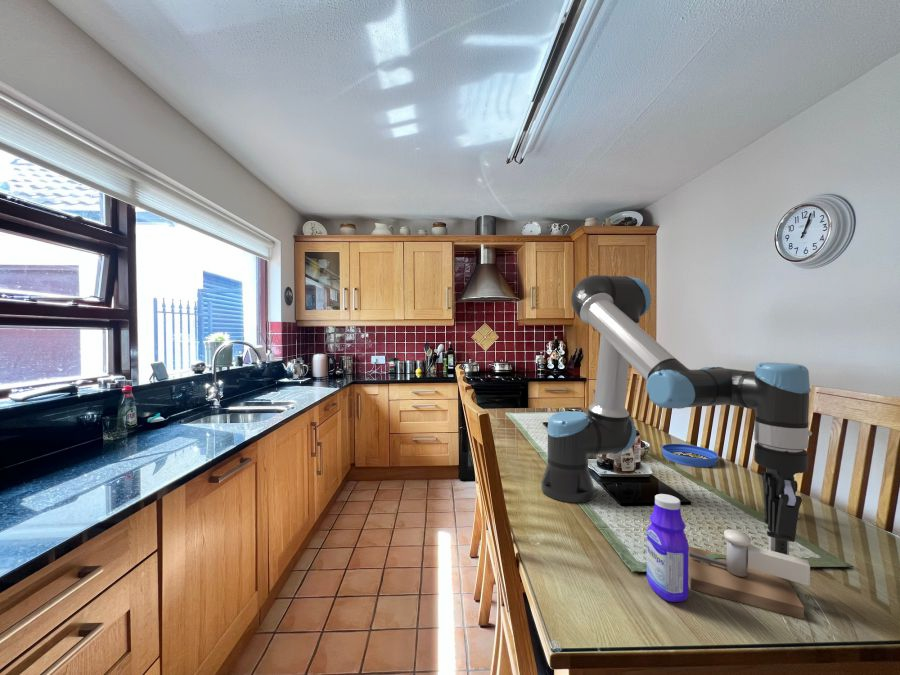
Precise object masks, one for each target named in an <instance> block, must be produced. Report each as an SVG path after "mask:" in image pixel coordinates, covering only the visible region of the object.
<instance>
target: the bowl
mask: <svg viewBox="0 0 900 675" xmlns="http://www.w3.org/2000/svg"><path fill="white" fill-rule="evenodd" d="M661 451H662V453H663V454H662V455H663V457H664V458H665V459H666V460H668V461H670V462H672V463H676V464H679V465H682V466H687V467H688V466H689V467H696V468H711V466H712V467H715V466H716V465H717V462H718V460H719V454H718V453H717V452H716V451H714V450H712V449H709V448H706V447H702V446H697V445H691V444H683V443H668V444H664V445H662V446H661ZM672 452H682V453H683V454H687V453H692V454H691V455H693V454H696V456H698V455H700V457H701V456H703V458H704V457H706V458H708V459H703V458H696V457H691V456H689V455H683V454H680V455H678V454H674V453H672ZM714 465H715V466H714Z"/></svg>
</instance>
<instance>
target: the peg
mask: <svg viewBox="0 0 900 675" xmlns="http://www.w3.org/2000/svg"><path fill="white" fill-rule="evenodd" d="M723 537H724V539H725V541H726V554H725V555H726V562H722V561H719V560H716V559H712V558H709V557H705V556H702V555H698V554H695V553H691V552H690V553H689V557H693V558H696V559H699V560H703V561H706V562H709V563H713V564H716V565H720V566H723V567H726V569H727V570H728V571H729V572H730V573H732V574H734V575H737V576H741V577H745V576H747V566H748V568H750V569H753V570H757V571H760V572H764V573H767V574H770V575H774V576H777V577H781V578H784V579H787V580H788V581H791V582H795V583H798V584H802V585H805V586H809V587H810V585H811V582H810V580H811V578H810V577H811V565H810V564H809V560H808V559H805V558H801V557H797V556H793V555H790V554H789V555H786V554H782V553H778V552H774V551H770V550H769V549H765V548H763V547H762V548H761V547H758V546H755V545H754V546H753V545H752V544H751V540H752V538H751V536H750V535H748V534H746V533H745V532H742V531H740V530H735V529H725V530H724V532H723Z"/></svg>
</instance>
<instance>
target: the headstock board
mask: <svg viewBox="0 0 900 675" xmlns="http://www.w3.org/2000/svg"><path fill="white" fill-rule="evenodd" d="M690 552H691V553H695V554H698V555H702V556H705V557H709V558H712V559H716V560H719V561H722V562H726V554H723V553H718V552H714V551H709V550H706V549H700V548H697V547H692V546H689V553H690ZM688 572H689V574H688V577H689V582H688V584H689V587H690V590H694V591H697V592H700V593H705V594H708V595H712V596H716V597H718V598H719V597H720V598H723V599H727V600H731V601H733V602H734V601H735V602H738V603H740V604H741V603H742V604H746V605H748V606H752V607H756V608H759V609H764V610H767V611H771V612H774V613H775V612H776V613H778V614H782V615H786V616H788V617H789V616H790V617H793V618H798V619H801V620H805V619H804V618H805V608H804V607H805V606H804V605H803V604H802V601H801V600H800V598H799V597H798V596H797V594H796V592H795V590H794V588H793V587H792V585H791V584H790V582H789V580H788V579H784V578H781V577H777V576H774V575H770V574H767V573H764V572H760V571H757V570H753V569H750V568H748V566H747V576H745V577H741V576H737V575H734V574H732V573H730V572H729V571H728V570H727V569H726V567H723V566H720V565H716V564H713V563H709V562H706V561H703V560H699V559H696V558H693V557H689V562H688Z"/></svg>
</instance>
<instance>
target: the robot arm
mask: <svg viewBox="0 0 900 675" xmlns="http://www.w3.org/2000/svg"><path fill="white" fill-rule="evenodd" d="M570 301H571V306H572V309H573V311H574V313H575V314H576V315H577V317H578V318H579V319H580V320H581V321H582V322H583V323H585V324H587V325H591V326H592V327H593V328H594V329H595V330H596V331H597V332H599V333H600V337H599V339H600V340H599V350H598V359H597V371H596V380H595V381H596V382H595V390H594V392H595V393H594V402H593V403H592V404H590V405H589V406H588V409H587V410H588V411H587V413H586V412H583V411H576V410H573V411H569V410H567V411H560V412H556V413H553V414H552V415H551V416H550V417H549V418H548V422H547V429H546V432H547V463H546V467H545V471H544V472H543V476H542V477H541V478H542V479H541V481H540V482H541V485H540V486H541V491H542V493H543V494H544V495H546V496H547V497H549V498H552V499H553V500H558V501H561V502H567V503H584V502H589V501H591V500H592V499H593V498H594V497H595V486H594V483H593V479H592V477H591V473H590V471H589V457H590V456H599V455H608V454H609V455H610V454H613V455H614V454H618V453H622V452H626V451H628V450H630V449H631V448H632V446H633V445H634V444H635V441H636V439H637V428H636V427H637V426H635V422H634V420H633V419H632V418H631V417H630V412H629V410H628V409H627V408H626V407H625V406H626V396H627V385H628V376H629V367H630V365H631V367H633V369H635V371H636V372H637V373H638V374H639V375H640V376H641V377H642V378H643V379H644V380H645V381H646V384H645V386H646V387H645V389H646V390H645V391H646V393H647V394H648V397H649V398H648V399H649V400H650V401H651V403H653V404H654V405H655V406H657V407H660V408H662V409H663V408H664V409H677V410H679V409H686V408H694V407H711V406H712V407H713V406H714V407H715V406H724V405H725V406H736V407H740V408H746V409H749V410H754V433H753V434H754V441H756V443H755V444H754V456H753V458H754V462H755V463H756V464H757V465H758V466H760V467H763V468H765V469H766V471H765V470H762V471H761V472H760V474H761V479H762V486H763V488H762V489H763V490H762V491H763V505H764V507H763V509H764V508H765V509H764V522H765V524H767V530H766V535H767V537H768V550H770V551H774V552H778V553H782V554H786V555H790V542H791V543H795V541H796V536H797V526H798V520H799V518H798V514H799V512H800V507H801V505H802V502H803V498H802V497H801V496H800V495H796V492H797V491H798V489H799V488H798V482H797V480H796V478H795V475H797V474H804V473H806V472H807V471H808V469H809V452H808V451H807V450H806V449H808V448H809V437H810V436H812V435H813V432H812V431H811V430H809V416H810V415H809V410H810V409H809V408H810V392H811V389H812V388H811V387H810V373H809V369H808V368H807V367H806V366H805V365H803V364H798V363H789V362H788V363H787V362H786V363H785V362H760V363H757V364H756V365H755V370H754V371H753V370H752V371H751V370H742V369H741V370H740V369H733V368H727V367H721V366H705V367H701V368H700V369H689V368H688V367H687V366H685V365H684V364H683V363H682V362H681V361H679V360H678V359H677V357H675V355H673V354H671V353H670V351H668V350H667V349H665V347H663V346H662V345H661V344H660V343H659V342H658V341H656V340H655V339H654V338H653V337H652V336H651V335H650V334H648V333H647V332H646V331H645V330H644V329H643V328H642V327H640V326H639V324H640V319H641V317H642V316H644V315H646V313H647V311H649V310H650V307H651V305H652V304H651V303H652V294H651V291H650V288H649V287H648V285H647V284H646V283H645V281H643V279H640V278H638V277H632V276H626V275H625V276H624V275H623V276H622V275H620V276H619V275H618V276H617V275H602V274H601V275H600V274H593V275H588V276H587V277H584V278H582V279H581V280H579V281H577V283H576V285H575V286H574V288H573V290H572V292H571V299H570Z"/></svg>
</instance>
